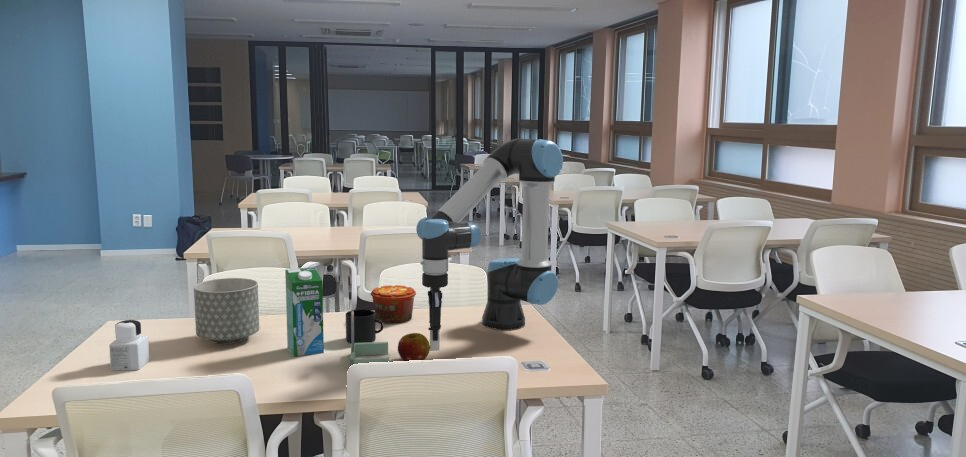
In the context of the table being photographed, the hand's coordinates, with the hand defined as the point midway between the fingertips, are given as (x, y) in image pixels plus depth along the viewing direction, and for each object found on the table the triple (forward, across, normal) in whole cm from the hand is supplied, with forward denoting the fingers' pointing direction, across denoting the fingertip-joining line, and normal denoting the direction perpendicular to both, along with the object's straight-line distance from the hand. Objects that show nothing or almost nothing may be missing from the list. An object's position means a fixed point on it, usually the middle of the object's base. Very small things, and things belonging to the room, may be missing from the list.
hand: (434, 349), depth 211 cm
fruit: (+3, 0, -6) cm, 7 cm away
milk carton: (+3, -13, -38) cm, 41 cm away
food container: (+3, -44, -10) cm, 45 cm away
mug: (+3, -21, -20) cm, 30 cm away
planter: (+3, -27, -63) cm, 69 cm away
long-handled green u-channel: (+3, 0, -20) cm, 20 cm away
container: (+3, -6, -86) cm, 87 cm away
